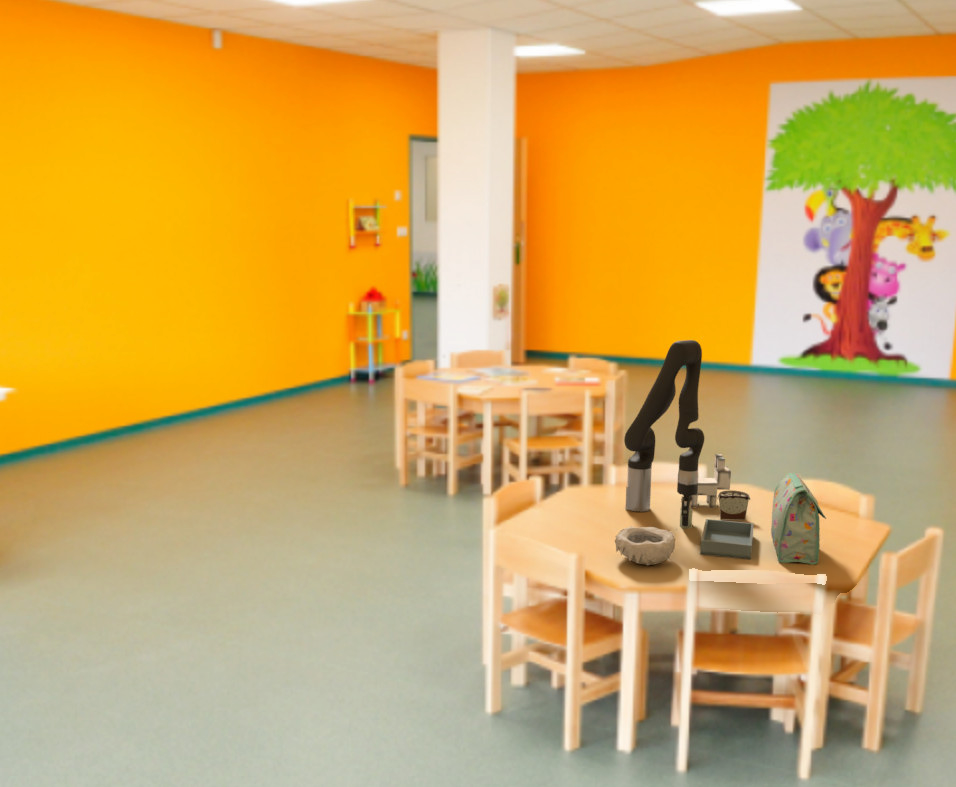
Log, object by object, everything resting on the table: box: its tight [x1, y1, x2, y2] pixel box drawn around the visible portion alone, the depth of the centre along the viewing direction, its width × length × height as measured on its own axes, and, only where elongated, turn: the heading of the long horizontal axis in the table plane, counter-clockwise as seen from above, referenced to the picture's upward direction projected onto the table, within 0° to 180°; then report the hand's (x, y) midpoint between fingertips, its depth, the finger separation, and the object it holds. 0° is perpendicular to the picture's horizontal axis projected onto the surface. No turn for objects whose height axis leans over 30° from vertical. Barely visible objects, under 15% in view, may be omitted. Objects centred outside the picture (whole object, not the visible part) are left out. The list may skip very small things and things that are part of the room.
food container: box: [717, 489, 751, 521], centre depth 386 cm, size 12×6×10 cm, turn 84°
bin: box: [699, 518, 754, 560], centre depth 356 cm, size 17×24×5 cm
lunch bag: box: [770, 472, 827, 566], centre depth 347 cm, size 23×16×27 cm
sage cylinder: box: [679, 507, 693, 529], centre depth 376 cm, size 4×4×7 cm
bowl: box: [614, 526, 676, 567], centre depth 341 cm, size 21×20×10 cm
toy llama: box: [691, 453, 732, 508], centre depth 400 cm, size 8×18×20 cm, turn 88°
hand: (685, 522), depth 376 cm, fingers open, 8 cm apart
